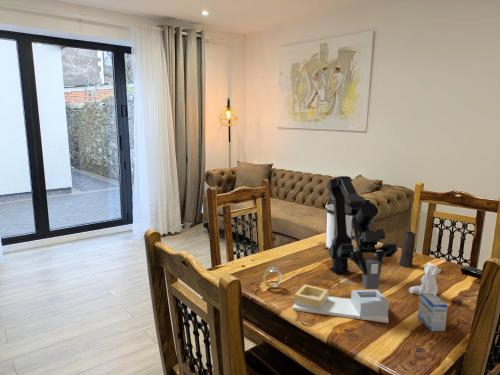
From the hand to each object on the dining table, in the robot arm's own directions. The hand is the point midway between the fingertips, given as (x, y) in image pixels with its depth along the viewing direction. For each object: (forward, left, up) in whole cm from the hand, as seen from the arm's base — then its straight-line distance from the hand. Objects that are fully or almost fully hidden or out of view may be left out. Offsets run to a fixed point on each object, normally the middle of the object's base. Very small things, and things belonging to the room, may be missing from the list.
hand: (372, 275), depth 117 cm
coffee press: (-54, +28, -14) cm, 62 cm away
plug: (-1, 0, -4) cm, 5 cm away
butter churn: (-26, +43, -14) cm, 52 cm away
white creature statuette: (-3, +28, -14) cm, 31 cm away
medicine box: (+12, +13, -14) cm, 23 cm away
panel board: (-7, -7, -13) cm, 17 cm away
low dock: (-13, -14, -13) cm, 23 cm away
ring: (-30, -21, -14) cm, 39 cm away
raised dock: (-1, 0, -13) cm, 14 cm away
